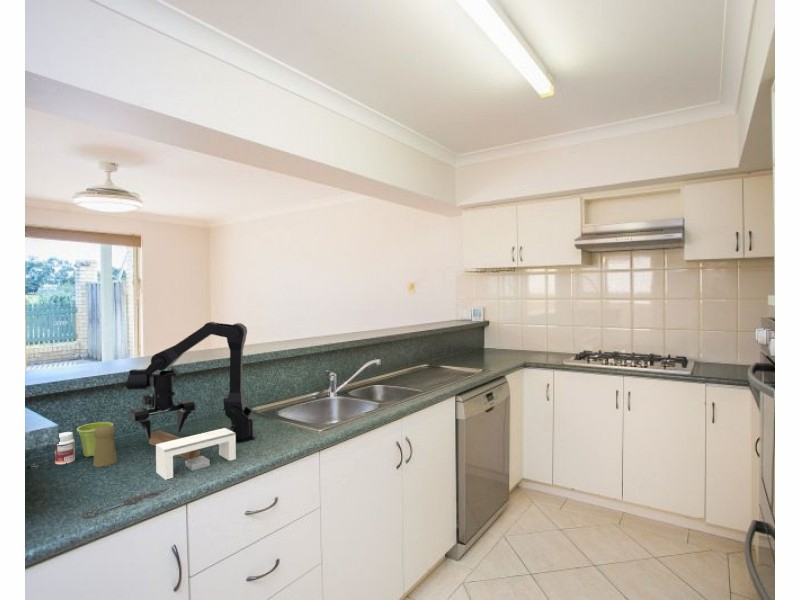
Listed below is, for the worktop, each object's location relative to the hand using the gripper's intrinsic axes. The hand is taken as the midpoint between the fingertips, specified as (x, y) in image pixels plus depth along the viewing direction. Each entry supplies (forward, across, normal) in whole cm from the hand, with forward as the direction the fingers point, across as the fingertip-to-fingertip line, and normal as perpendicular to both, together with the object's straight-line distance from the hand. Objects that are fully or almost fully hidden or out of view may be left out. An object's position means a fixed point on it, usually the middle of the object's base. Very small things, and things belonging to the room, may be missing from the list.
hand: (164, 435), depth 148 cm
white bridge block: (+3, 0, +27) cm, 27 cm away
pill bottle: (+3, +26, -5) cm, 27 cm away
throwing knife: (+3, +20, +38) cm, 43 cm away
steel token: (+3, 0, +27) cm, 27 cm away
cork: (+3, +18, +5) cm, 19 cm away
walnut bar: (+3, 0, +8) cm, 9 cm away
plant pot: (+3, +18, -6) cm, 19 cm away
